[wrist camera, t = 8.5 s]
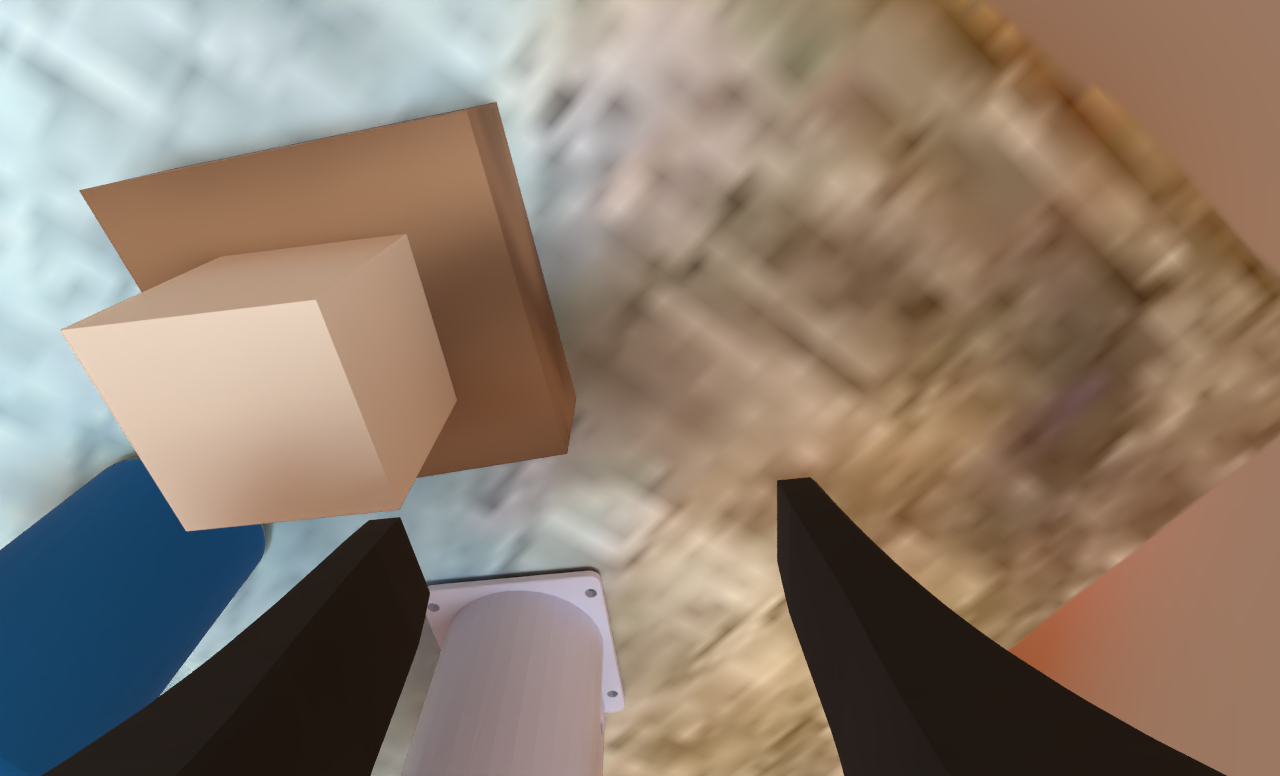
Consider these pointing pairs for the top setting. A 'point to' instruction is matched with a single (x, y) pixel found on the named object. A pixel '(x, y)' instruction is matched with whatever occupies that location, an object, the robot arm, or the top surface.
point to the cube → (276, 382)
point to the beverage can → (104, 612)
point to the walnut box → (375, 207)
